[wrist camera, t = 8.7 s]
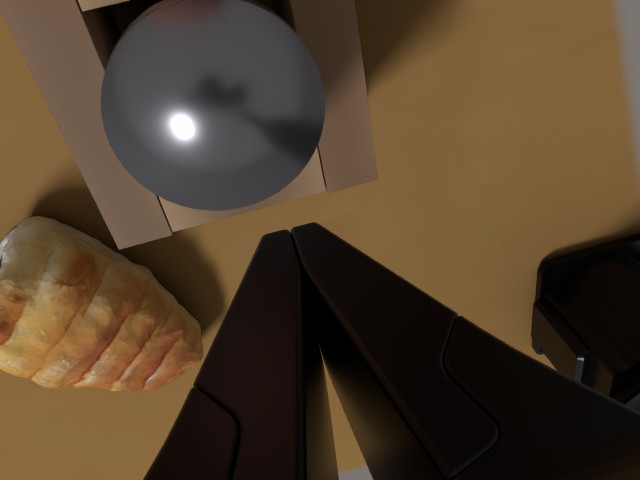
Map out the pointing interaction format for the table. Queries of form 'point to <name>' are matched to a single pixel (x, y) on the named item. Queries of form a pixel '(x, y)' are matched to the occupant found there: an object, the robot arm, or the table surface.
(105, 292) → the pastry
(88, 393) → the table surface
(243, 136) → the plunger
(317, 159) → the brown wooden rack
